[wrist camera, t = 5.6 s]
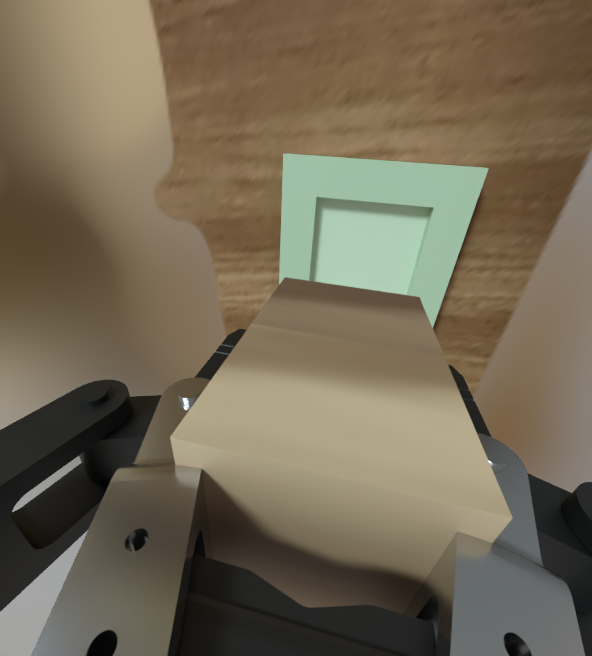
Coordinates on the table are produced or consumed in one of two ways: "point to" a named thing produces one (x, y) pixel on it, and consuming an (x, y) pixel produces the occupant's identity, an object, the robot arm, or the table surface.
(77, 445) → the robot arm
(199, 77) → the table surface
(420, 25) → the table surface
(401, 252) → the plate
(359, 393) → the wooden block
